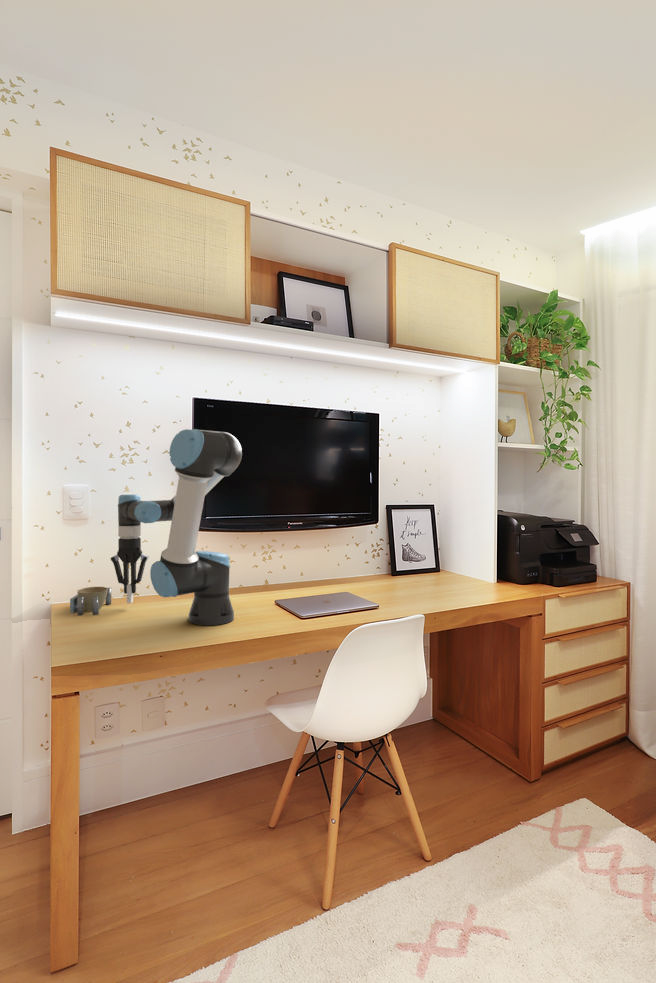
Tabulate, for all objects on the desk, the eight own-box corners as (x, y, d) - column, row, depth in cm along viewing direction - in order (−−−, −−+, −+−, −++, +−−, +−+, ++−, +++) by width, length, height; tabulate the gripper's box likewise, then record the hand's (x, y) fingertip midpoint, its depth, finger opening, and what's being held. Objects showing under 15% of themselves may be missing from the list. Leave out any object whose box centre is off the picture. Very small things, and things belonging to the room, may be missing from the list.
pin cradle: (111, 603, 197) (112, 587, 197) (97, 615, 181) (97, 598, 181) (83, 603, 196) (83, 587, 196) (66, 615, 180) (66, 598, 180)
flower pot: (88, 604, 195) (88, 585, 194) (113, 606, 193) (113, 587, 193) (71, 612, 185) (71, 591, 185) (96, 613, 183) (96, 593, 183)
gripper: (150, 536, 193) (151, 599, 194) (114, 536, 192) (114, 600, 193) (145, 538, 186) (146, 604, 187) (107, 538, 185) (108, 605, 185)
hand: (130, 602), depth 190 cm, fingers closed
